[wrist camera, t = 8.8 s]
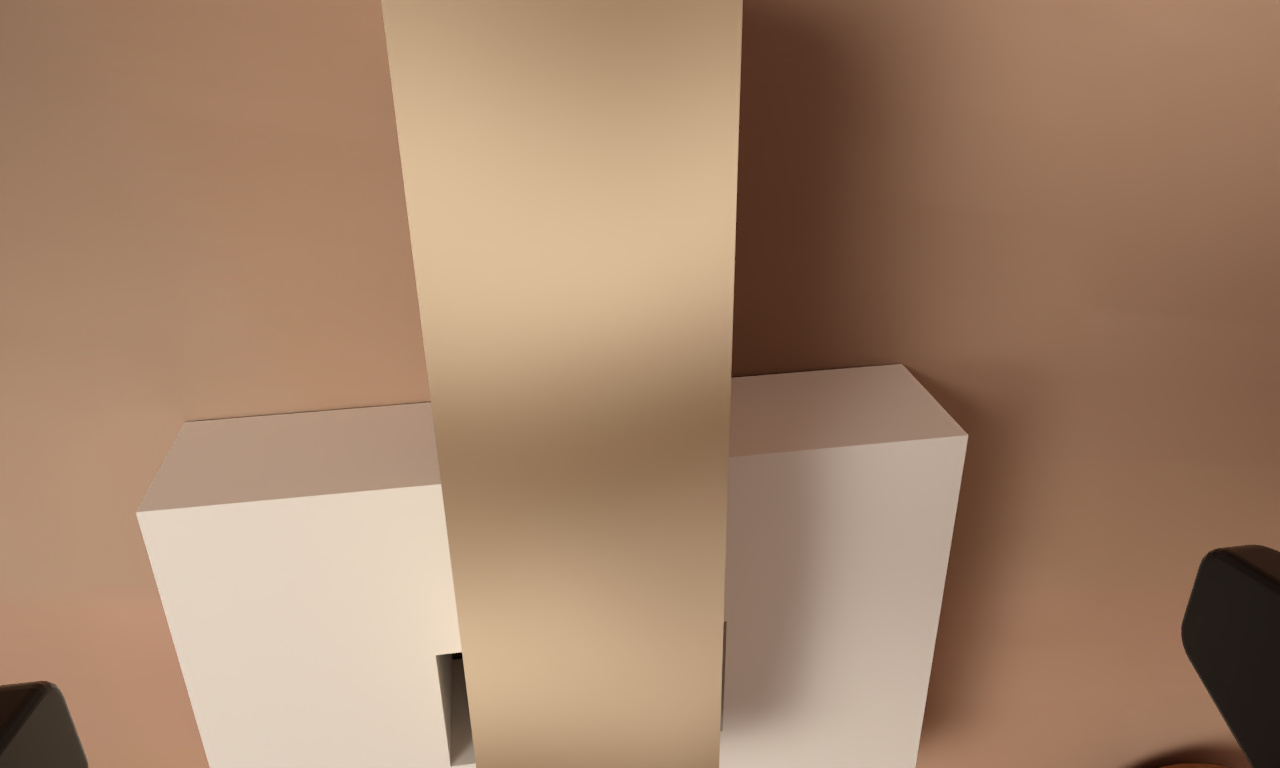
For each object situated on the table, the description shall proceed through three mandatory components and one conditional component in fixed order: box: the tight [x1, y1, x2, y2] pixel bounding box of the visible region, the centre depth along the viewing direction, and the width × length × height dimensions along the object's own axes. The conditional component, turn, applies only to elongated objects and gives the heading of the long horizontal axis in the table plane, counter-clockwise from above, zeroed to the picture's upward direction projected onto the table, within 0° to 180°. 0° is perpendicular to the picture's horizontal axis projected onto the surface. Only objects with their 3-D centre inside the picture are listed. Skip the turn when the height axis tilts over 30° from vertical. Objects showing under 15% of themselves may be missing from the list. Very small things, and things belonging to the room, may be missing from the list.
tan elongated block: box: [381, 0, 743, 768], centre depth 16 cm, size 14×4×6 cm, turn 1°
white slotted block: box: [136, 364, 968, 768], centre depth 20 cm, size 10×14×3 cm
